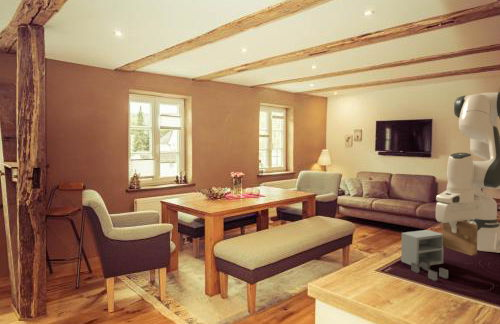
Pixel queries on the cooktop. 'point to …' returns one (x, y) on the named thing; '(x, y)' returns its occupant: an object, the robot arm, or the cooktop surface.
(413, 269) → the hinge clips
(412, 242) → the cabinet
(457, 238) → the door
